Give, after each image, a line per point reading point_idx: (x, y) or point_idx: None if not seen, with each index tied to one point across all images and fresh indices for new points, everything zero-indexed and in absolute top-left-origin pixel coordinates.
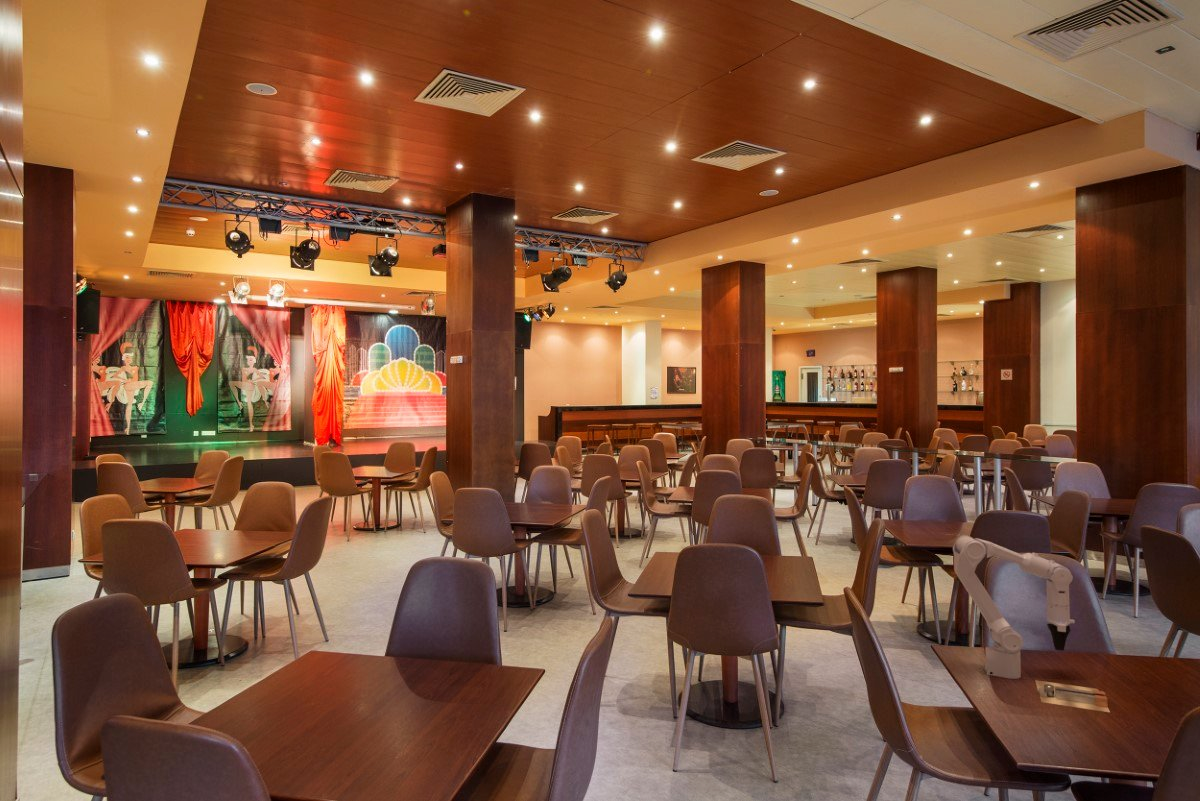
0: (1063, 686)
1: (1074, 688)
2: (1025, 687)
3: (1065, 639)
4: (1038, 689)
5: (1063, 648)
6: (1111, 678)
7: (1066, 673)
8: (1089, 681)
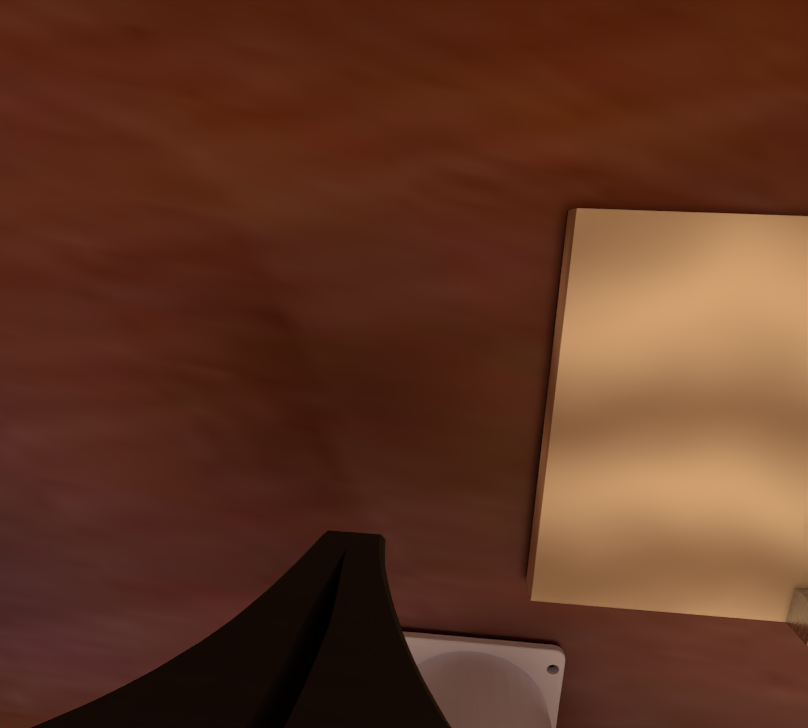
0: (607, 449)
1: (627, 382)
2: (597, 636)
3: (404, 647)
4: (799, 635)
5: (383, 554)
6: (116, 22)
7: (169, 344)
8: (282, 215)
